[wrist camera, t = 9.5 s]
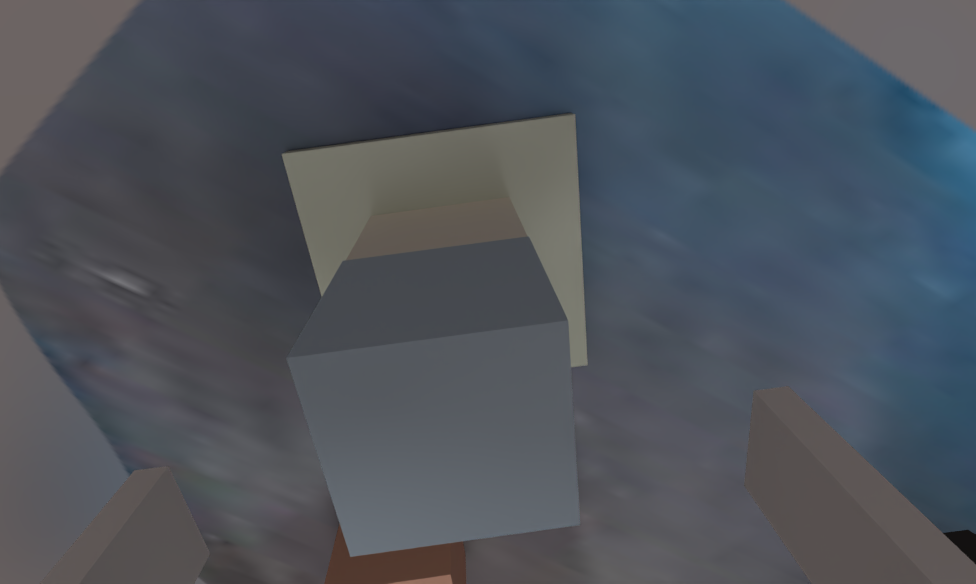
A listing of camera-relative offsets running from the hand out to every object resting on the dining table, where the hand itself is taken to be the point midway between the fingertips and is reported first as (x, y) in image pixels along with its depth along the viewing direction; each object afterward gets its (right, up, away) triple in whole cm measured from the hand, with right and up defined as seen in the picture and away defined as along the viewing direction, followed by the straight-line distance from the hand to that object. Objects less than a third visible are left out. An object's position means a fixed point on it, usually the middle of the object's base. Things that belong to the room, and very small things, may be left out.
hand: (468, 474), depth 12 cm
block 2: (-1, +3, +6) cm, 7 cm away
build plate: (-1, +5, +12) cm, 13 cm away
